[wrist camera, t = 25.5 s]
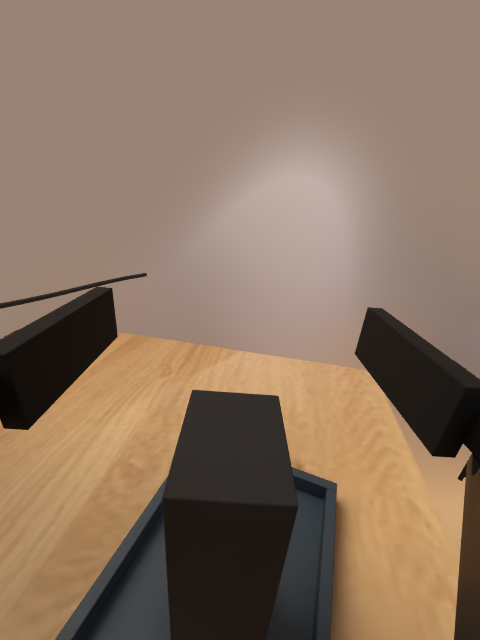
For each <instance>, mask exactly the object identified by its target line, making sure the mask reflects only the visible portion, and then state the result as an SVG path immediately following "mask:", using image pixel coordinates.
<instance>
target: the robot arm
mask: <svg viewBox="0 0 480 640" xmlns="http://www.w3.org/2000/svg"><path fill="white" fill-rule="evenodd" d="M144 276H147V274H146V273H143V274H137V275H131V276H125V277H120V278H115V279H111V280H106V281H101V282H97V283H93V284H88V285H84V286H80V287H76V288H72V289H67V290H63V291H59V292H54V293H50V294H45V295H40V296H36V297H31V298H26V299H21V300H16V301H11V302H6V303H0V308H6V307H11V306H16V305H21V304H25V303H30V302H34V301H39V300H43V299H48V298H52V297H56V296H60V295H64V294H68V293H72V292H77V291H80V290H85V289H89V288H92V287H96V288H94V289H92V290H90V291H88V292H87V293H85V294H83V295H81V296H79V297H78V298H76V299H74V300H72V301H70V302H69V303H67V304H65V305H63V306H61V307H60V308H58V309H56V310H54V311H52V312H51V313H49V314H47V315H45V316H43V317H42V318H40V319H38V320H36V321H34V322H32V323H30V324H29V325H27V326H25V327H23V328H21V329H19V330H16V331H14V332H13V333H11V334H9V335H7V336H5V337H4V338H3V339H0V420H1V422H2V425H3V428H6V429H22V430H28V429H29V428H30V427H31V426H32V425H33V424H34V423H35V422H36V421H37V420H38V419H39V418H40V417H41V416H42V415H43V414H44V413H45V412H46V411H47V410H48V409H49V408H50V406H51V405H52V404H53V403H54V402H55V401H56V400H57V399H58V398H59V397H60V396H61V395H62V394H63V393H64V392H65V391H66V390H67V389H68V388H69V387H70V386H71V385H72V384H73V383H74V382H75V380H76V379H77V378H78V377H79V376H80V375H81V374H82V373H83V372H84V371H85V370H86V369H87V368H88V367H89V366H90V365H91V364H92V363H93V362H94V361H95V360H96V359H97V358H98V357H99V356H100V354H101V353H102V352H103V351H104V350H105V349H106V348H107V347H108V346H109V345H110V344H111V343H112V342H113V341H114V340H115V339H116V338H117V337H118V335H117V327H116V318H115V309H114V300H113V292H112V288H105V287H97V286H101V285H105V284H109V283H113V282H118V281H122V280H127V279H133V278H139V277H144ZM355 355H356V356H357V357H358V359H359V360H360V361H361V363H362V364H363V365H364V366H365V368H366V369H367V370H368V372H369V373H370V374H371V376H372V377H373V378H374V380H375V381H376V382H377V384H378V385H379V386H380V388H381V389H382V390H383V392H384V393H385V394H386V395H387V397H388V398H389V400H390V401H391V402H392V403H393V405H394V406H395V407H396V409H397V410H398V411H399V413H400V414H401V415H402V417H403V418H404V419H405V421H406V422H407V423H408V425H409V426H410V427H411V429H412V430H413V431H414V433H415V434H416V435H417V437H418V438H419V439H420V440H421V442H422V443H423V444H424V446H425V447H426V448H427V450H428V451H429V452H430V453H431V455H432V456H438V457H454V458H455V457H456V455H457V453H458V451H459V449H460V448H461V446H462V444H464V445H465V446H467V448H468V449H469V450H470V451H471V452H472V454H471V456H470V458H469V460H468V461H467V463H466V465H465V467H464V468H463V470H462V472H461V474H460V475H459V477H458V479H459V480H461V481H462V480H463V478H464V477H466V484H465V497H464V511H463V525H462V538H461V551H460V565H459V579H458V593H457V606H456V620H455V634H454V640H480V379H479V378H476V377H475V375H473V374H472V373H471V372H469V371H467V369H465V368H463V367H462V366H461V365H460V364H458V363H457V362H455V361H454V360H452V359H450V358H449V357H448V356H446V355H445V354H444V353H442V352H441V351H439V350H438V349H437V348H435V347H434V346H433V345H431V344H430V343H429V342H427V341H426V340H425V339H423V338H422V337H420V336H419V335H418V334H416V333H415V332H414V331H412V330H411V329H410V328H408V327H407V326H406V325H404V324H403V323H401V322H400V321H399V320H397V319H396V318H394V317H393V316H392V315H391V314H389V313H388V312H386V311H385V310H383V309H381V308H368V309H367V312H366V316H365V319H364V323H363V326H362V330H361V334H360V337H359V341H358V344H357V348H356V351H355Z"/></svg>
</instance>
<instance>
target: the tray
mask: <svg viewBox="0 0 480 640" xmlns="http://www.w3.org/2000/svg"><path fill="white" fill-rule="evenodd" d="M292 473H293V478H294V484H295V489H296V495H297V500H298V505H299V506H298V510H297V514H296V519H295V523H294V527H293V531H292V535H291V539H290V543H289V547H288V551H287V556H286V560H285V564H284V568H283V572H282V576H281V580H280V584H279V588H278V593H277V597H276V601H275V605H274V609H273V613H272V617H271V621H270V626H269V630H268V634H267V638H266V640H331V619H332V594H333V569H334V544H335V519H336V494H337V493H336V492H337V484H336V483H334V482H331V481H328V480H325V479H323V478H320V477H317V476H315V475H312V474H309V473H306V472H304V471H301V470H298V469H295V468H293V467H292ZM167 478H168V477H167ZM167 478H166V480H165V481H164V483H163V484H162V485H161V487H160V488H159V490H158V491H157V493H156V494H155V496H154V497H153V499H152V500H151V501H150V503H149V504H148V506H147V507H146V509H145V510H144V512H143V513H142V514H141V516H140V517H139V519H138V520H137V522H136V523H135V525H134V526H133V528H132V529H131V530H130V532H129V533H128V535H127V536H126V538H125V539H124V541H123V542H122V544H121V545H120V546H119V548H118V549H117V551H116V552H115V554H114V555H113V557H112V558H111V559H110V561H109V562H108V564H107V565H106V567H105V568H104V570H103V571H102V573H101V574H100V575H99V577H98V578H97V580H96V581H95V583H94V584H93V586H92V587H91V588H90V590H89V591H88V593H87V594H86V596H85V597H84V599H83V600H82V602H81V603H80V604H79V606H78V607H77V609H76V610H75V612H74V613H73V615H72V616H71V618H70V619H69V620H68V622H67V623H66V625H65V626H64V628H63V629H62V631H61V632H60V633H59V635H58V636H57V638H56V639H55V640H171V637H170V620H169V604H168V587H167V570H166V554H165V537H164V521H163V504H162V496H163V492H164V489H165V485H166V482H167Z"/></svg>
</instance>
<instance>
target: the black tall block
mask: <svg viewBox="0 0 480 640" xmlns="http://www.w3.org/2000/svg"><path fill="white" fill-rule="evenodd" d="M162 504H163V521H164V537H165V554H166V570H167V587H168V604H169V620H170V637H171V640H266V638H267V634H268V630H269V626H270V621H271V617H272V613H273V609H274V605H275V601H276V597H277V593H278V588H279V584H280V580H281V576H282V572H283V568H284V564H285V560H286V556H287V551H288V547H289V543H290V539H291V535H292V531H293V527H294V523H295V519H296V514H297V510H298V506H299V505H298V500H297V495H296V489H295V484H294V478H293V473H292V467H291V462H290V456H289V451H288V445H287V440H286V434H285V429H284V424H283V418H282V413H281V407H280V402H279V397H278V396H274V395H259V394H244V393H230V392H215V391H200V390H192V393H191V397H190V400H189V404H188V407H187V411H186V414H185V418H184V421H183V425H182V428H181V432H180V436H179V439H178V443H177V446H176V450H175V453H174V457H173V460H172V464H171V467H170V471H169V475H168V478H167V482H166V485H165V489H164V492H163V496H162Z"/></svg>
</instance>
